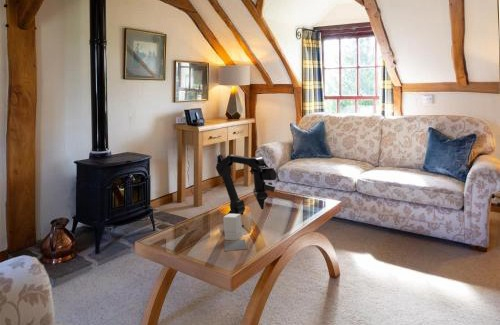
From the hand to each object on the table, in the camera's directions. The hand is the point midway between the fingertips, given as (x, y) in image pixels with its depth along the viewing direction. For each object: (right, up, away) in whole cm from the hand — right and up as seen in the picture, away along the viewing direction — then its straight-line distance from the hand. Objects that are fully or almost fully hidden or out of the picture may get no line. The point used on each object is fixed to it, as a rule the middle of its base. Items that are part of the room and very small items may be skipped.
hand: (261, 207), depth 224 cm
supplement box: (-15, -16, -8) cm, 23 cm away
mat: (-14, -17, -20) cm, 30 cm away
